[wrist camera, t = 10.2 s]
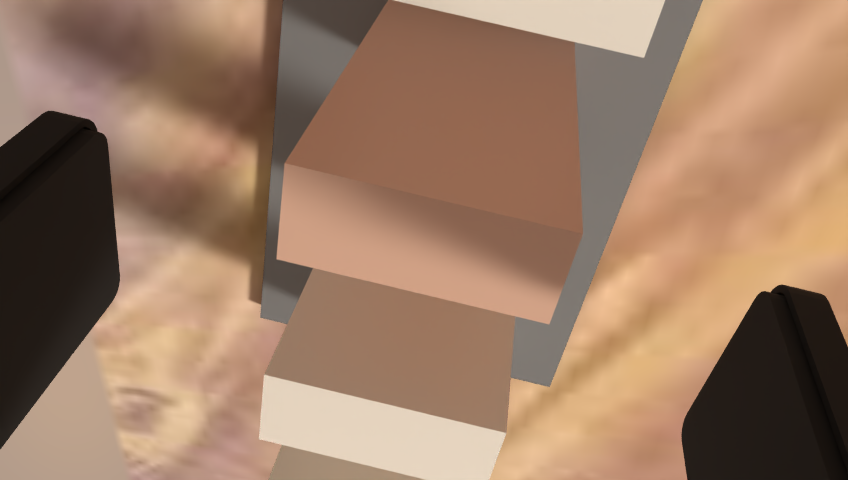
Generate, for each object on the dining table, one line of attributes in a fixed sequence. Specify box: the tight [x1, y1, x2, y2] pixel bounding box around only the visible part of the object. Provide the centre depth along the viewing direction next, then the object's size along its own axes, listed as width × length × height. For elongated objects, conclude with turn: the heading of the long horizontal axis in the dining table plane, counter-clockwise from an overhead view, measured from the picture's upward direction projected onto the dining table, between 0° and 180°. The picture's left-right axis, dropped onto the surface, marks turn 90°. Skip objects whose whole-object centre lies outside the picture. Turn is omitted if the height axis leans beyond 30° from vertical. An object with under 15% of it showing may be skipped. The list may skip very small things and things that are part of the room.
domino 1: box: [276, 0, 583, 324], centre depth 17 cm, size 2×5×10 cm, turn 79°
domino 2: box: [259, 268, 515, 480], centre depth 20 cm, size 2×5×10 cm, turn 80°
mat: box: [260, 0, 703, 387], centre depth 21 cm, size 26×11×1 cm, turn 170°
